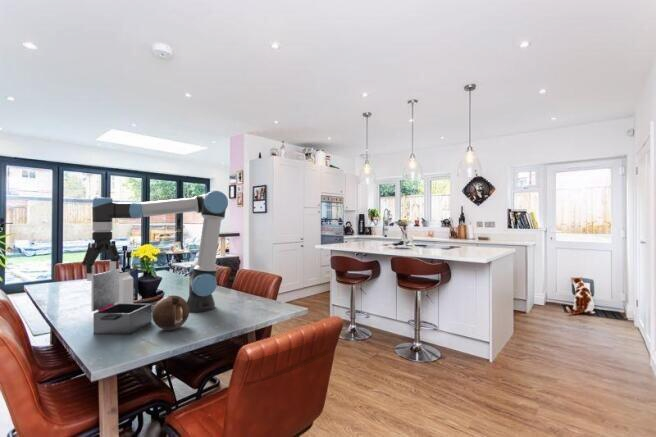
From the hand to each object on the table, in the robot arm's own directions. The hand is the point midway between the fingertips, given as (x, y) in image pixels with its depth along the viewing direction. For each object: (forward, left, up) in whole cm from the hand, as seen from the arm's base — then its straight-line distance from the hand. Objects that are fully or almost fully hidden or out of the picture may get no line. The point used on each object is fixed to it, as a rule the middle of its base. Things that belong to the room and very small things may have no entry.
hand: (102, 277), depth 149 cm
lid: (-2, 0, -5) cm, 6 cm away
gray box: (-10, 0, -23) cm, 25 cm away
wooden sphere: (-32, 0, -23) cm, 40 cm away
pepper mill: (+14, -20, -23) cm, 33 cm away
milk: (+3, -19, -23) cm, 30 cm away
